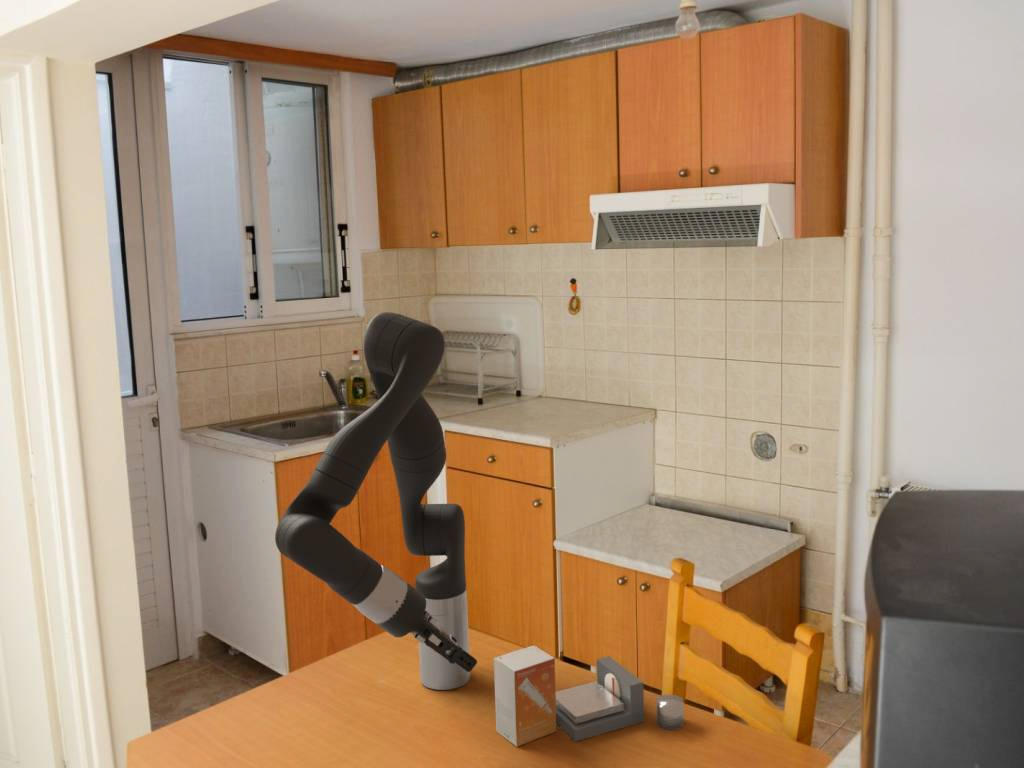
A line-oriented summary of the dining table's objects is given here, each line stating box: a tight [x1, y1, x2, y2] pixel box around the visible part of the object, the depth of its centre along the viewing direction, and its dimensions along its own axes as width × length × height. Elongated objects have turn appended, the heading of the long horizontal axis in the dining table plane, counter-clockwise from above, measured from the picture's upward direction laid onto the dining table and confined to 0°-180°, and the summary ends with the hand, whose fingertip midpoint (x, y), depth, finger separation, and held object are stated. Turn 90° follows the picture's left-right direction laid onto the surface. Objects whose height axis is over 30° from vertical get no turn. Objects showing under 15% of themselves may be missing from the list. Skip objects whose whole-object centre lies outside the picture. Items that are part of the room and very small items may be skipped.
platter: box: [555, 680, 624, 724], centre depth 157 cm, size 9×9×1 cm
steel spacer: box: [656, 694, 685, 731], centre depth 155 cm, size 4×4×4 cm
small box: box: [493, 645, 557, 747], centre depth 153 cm, size 8×6×13 cm
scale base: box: [556, 656, 645, 742], centre depth 158 cm, size 11×13×7 cm
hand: (462, 655), depth 147 cm, fingers open, 8 cm apart
